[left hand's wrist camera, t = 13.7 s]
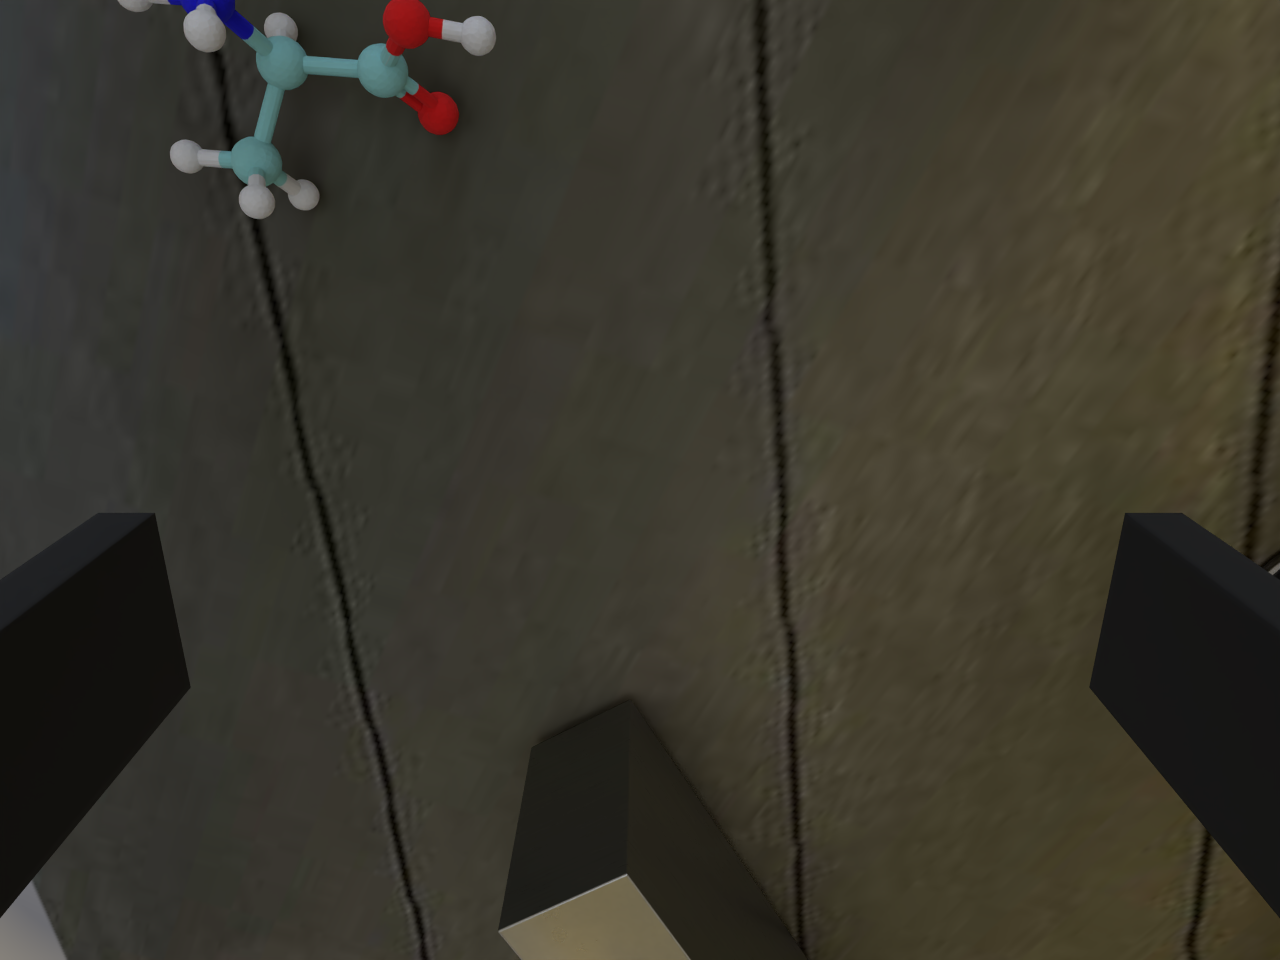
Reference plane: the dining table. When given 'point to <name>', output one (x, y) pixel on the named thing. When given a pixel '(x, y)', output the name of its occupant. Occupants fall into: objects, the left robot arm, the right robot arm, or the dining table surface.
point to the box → (627, 858)
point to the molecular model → (290, 67)
